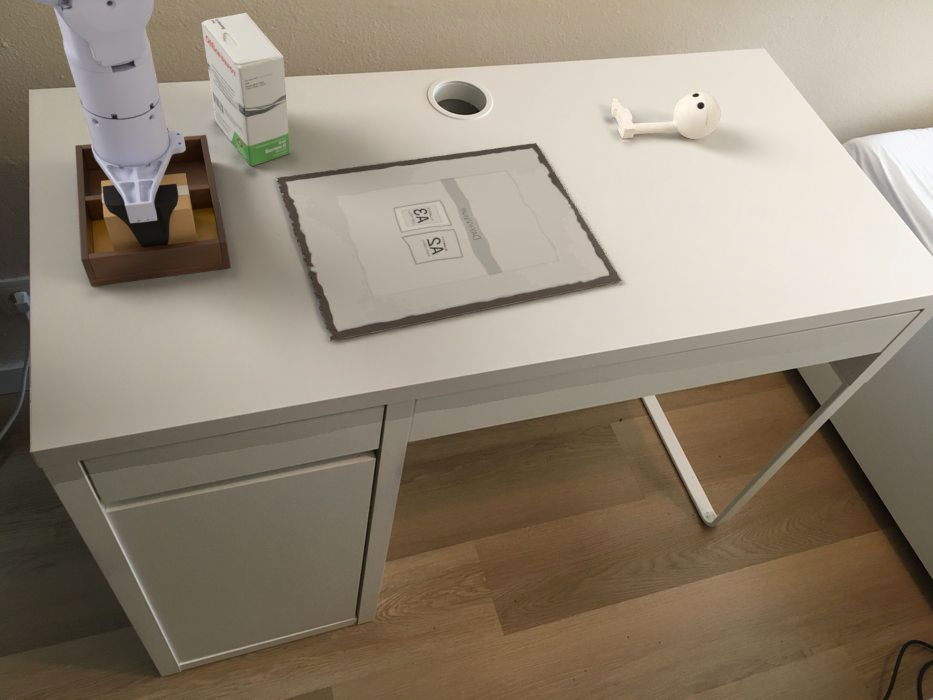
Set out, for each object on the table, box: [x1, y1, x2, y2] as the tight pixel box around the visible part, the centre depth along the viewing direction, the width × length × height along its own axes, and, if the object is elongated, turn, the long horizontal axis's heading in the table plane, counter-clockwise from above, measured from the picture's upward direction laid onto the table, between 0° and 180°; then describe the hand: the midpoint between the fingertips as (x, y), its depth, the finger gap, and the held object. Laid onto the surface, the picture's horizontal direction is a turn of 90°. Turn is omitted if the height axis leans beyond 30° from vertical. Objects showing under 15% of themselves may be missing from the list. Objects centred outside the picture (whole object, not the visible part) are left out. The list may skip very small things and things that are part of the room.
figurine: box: [610, 91, 721, 140], centre depth 92 cm, size 8×6×12 cm
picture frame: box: [276, 142, 623, 342], centre depth 78 cm, size 22×1×30 cm
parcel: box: [101, 173, 198, 251], centre depth 68 cm, size 7×5×5 cm, turn 108°
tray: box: [74, 134, 232, 287], centre depth 72 cm, size 12×15×4 cm
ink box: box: [201, 12, 291, 167], centre depth 77 cm, size 9×5×12 cm, turn 35°
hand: (152, 224), depth 69 cm, fingers closed on parcel, 5 cm apart
